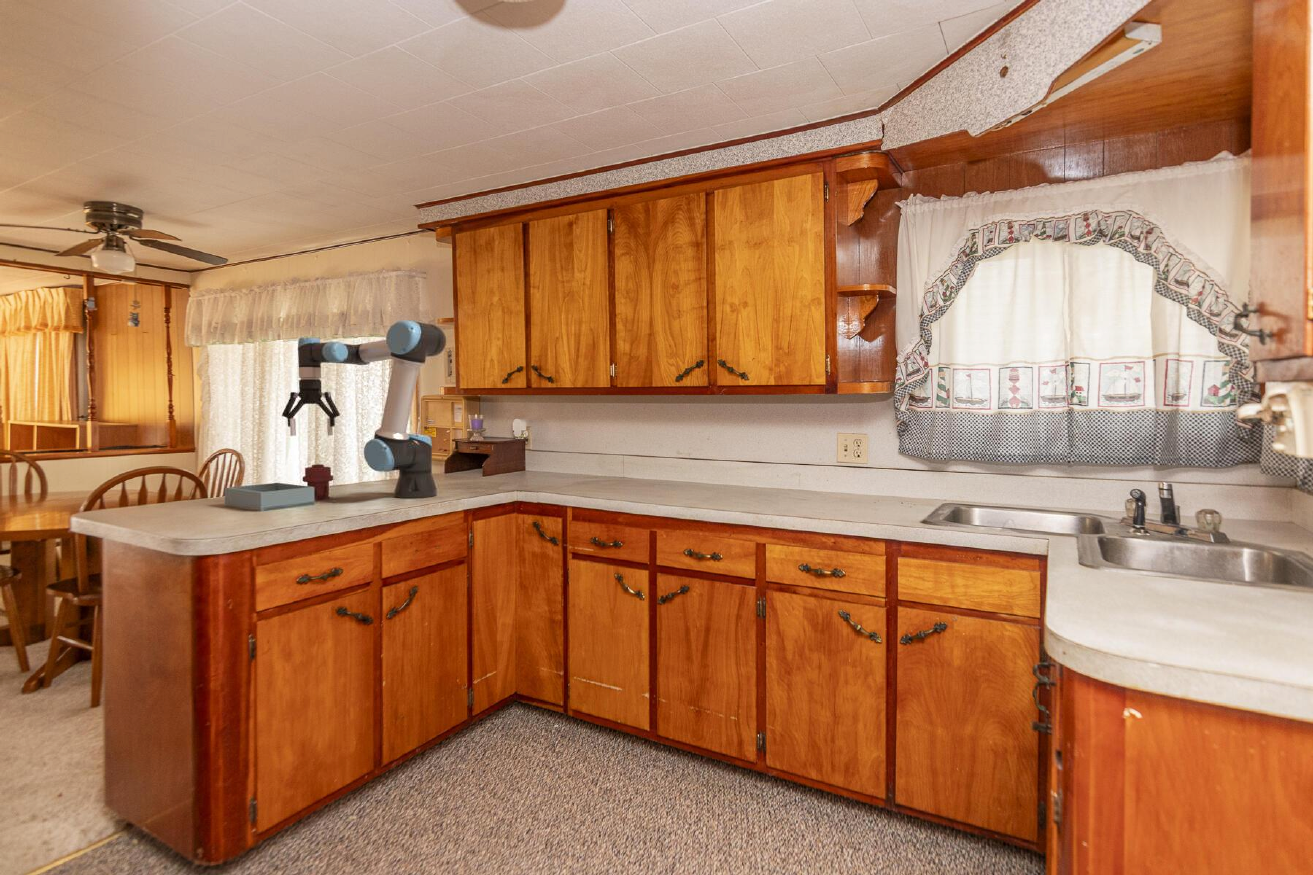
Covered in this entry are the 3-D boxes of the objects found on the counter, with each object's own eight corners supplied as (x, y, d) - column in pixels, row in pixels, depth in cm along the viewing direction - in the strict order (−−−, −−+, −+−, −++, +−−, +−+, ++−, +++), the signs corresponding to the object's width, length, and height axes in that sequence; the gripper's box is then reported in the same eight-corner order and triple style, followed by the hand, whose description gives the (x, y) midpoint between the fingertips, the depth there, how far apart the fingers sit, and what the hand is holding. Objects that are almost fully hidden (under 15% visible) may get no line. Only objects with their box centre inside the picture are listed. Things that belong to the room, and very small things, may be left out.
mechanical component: (314, 501, 241) (296, 499, 246) (339, 498, 250) (321, 496, 254) (314, 466, 240) (296, 465, 245) (339, 464, 249) (321, 463, 254)
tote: (314, 504, 234) (314, 487, 234) (261, 511, 218) (260, 492, 218) (278, 499, 245) (277, 482, 245) (225, 505, 230) (224, 487, 230)
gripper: (347, 379, 261) (349, 434, 262) (281, 379, 260) (282, 435, 261) (339, 378, 254) (341, 435, 255) (270, 378, 253) (272, 436, 254)
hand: (311, 435), depth 258 cm, fingers open, 13 cm apart
